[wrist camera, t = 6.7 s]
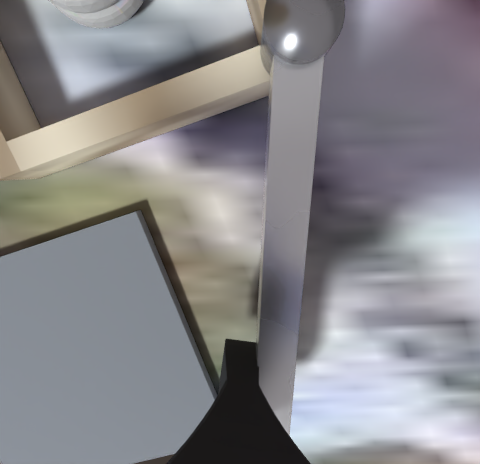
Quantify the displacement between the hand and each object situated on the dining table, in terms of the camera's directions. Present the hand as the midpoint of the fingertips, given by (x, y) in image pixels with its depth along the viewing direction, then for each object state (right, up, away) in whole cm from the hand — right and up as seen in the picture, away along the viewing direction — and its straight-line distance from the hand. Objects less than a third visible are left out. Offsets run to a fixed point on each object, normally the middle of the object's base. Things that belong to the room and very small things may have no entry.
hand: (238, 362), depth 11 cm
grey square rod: (+1, +4, -1) cm, 4 cm away
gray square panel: (-8, -1, +3) cm, 8 cm away
